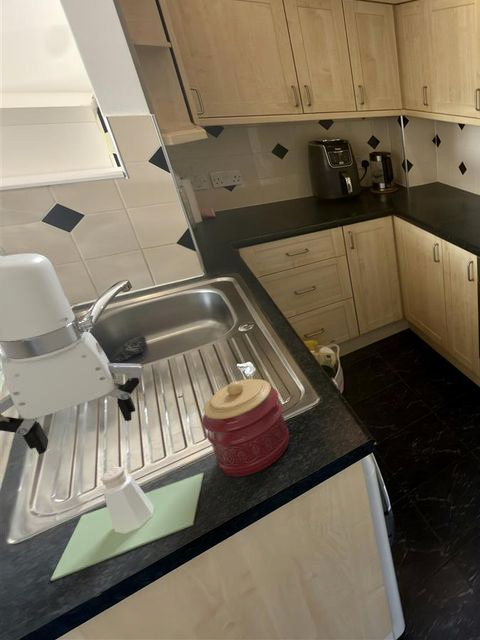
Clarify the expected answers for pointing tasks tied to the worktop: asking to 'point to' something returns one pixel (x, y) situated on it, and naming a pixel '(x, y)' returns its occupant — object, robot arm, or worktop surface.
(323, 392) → the worktop surface
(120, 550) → the mat
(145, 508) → the pepper shaker
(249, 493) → the worktop surface
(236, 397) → the kitchen canister
